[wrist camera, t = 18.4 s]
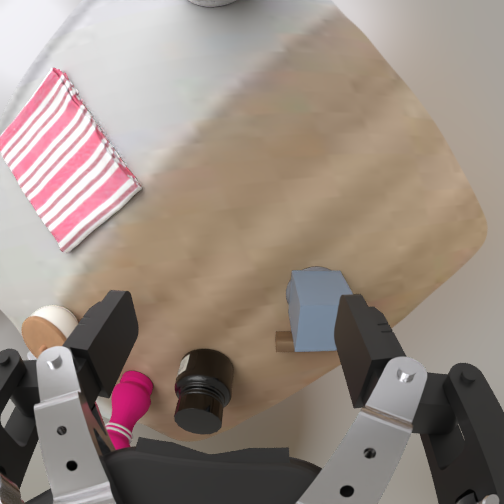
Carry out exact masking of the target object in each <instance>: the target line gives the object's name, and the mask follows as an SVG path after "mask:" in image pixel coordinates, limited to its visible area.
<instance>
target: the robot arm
mask: <svg viewBox="0 0 504 504" xmlns="http://www.w3.org/2000/svg"><path fill="white" fill-rule="evenodd" d="M188 1H190V2H192V3H194V4H196V5H199V6H205V7H216V6H223V5H226V4H229V3H232V2H234V1H236V0H188ZM137 336H138V322H137V318H136V314H135V309H134V305H133V301H132V297H131V294H130V292H129V291H116V290H111V291H109V292H108V294H107V295H106V296H105V298H104V299H103V300H102V302H98V303H97V304H95V305H94V306H92V307H91V308H89V310H88V311H87V312H86V314H85V315H84V316H83V318H82V319H81V320H80V322H79V325H77V326H76V327H75V329H74V330H73V331H72V333H71V334H70V335H69V337H68V338H67V340H66V341H65V342H64V344H63V345H62V346H55V347H51V348H48V349H46V350H45V351H43V352H42V353H41V354H40V355H39V357H38V359H37V360H28V361H23V360H22V359H21V356H20V355H19V353H18V351H16V350H14V349H6V350H3V351H1V352H0V416H1V413H2V411H3V409H4V408H5V406H6V404H7V402H8V400H9V399H11V400H12V402H13V403H14V404H15V406H16V407H15V408H14V410H13V412H12V414H11V416H10V418H9V420H8V422H7V424H6V426H5V428H3V427H2V425H1V421H0V504H378V502H379V500H380V499H381V497H382V495H383V493H384V491H385V489H386V487H387V485H388V483H389V481H390V479H391V477H392V475H393V473H394V471H395V469H396V467H397V465H398V463H399V461H400V459H401V456H402V454H403V452H404V449H405V447H406V445H407V442H408V440H409V437H410V435H411V433H420V436H421V440H422V443H423V446H424V449H425V453H426V456H427V459H428V463H429V467H430V470H431V474H432V478H433V482H434V486H435V490H436V494H437V498H438V503H439V504H504V412H503V410H502V408H501V406H500V404H499V402H498V400H497V398H496V397H495V395H494V393H493V391H492V389H491V388H490V386H489V384H488V382H487V381H486V379H485V377H484V375H483V374H482V372H481V371H480V370H479V369H478V368H476V367H475V366H473V365H471V364H468V363H458V364H456V365H454V366H453V367H452V368H451V370H450V372H449V373H448V375H447V374H436V373H428V372H426V369H425V367H424V366H423V365H422V364H421V363H420V362H418V361H417V360H415V359H413V358H409V357H406V355H405V353H404V351H403V349H402V347H401V345H400V343H399V342H398V340H397V338H396V336H395V334H394V333H393V332H392V329H391V327H390V325H388V322H387V320H386V318H385V316H384V315H383V314H382V313H381V312H380V311H379V310H377V309H376V308H375V307H368V305H367V304H366V302H365V300H364V298H363V296H362V295H361V294H348V295H341V297H340V300H339V306H338V311H337V317H336V322H335V328H334V341H335V345H336V348H337V352H338V355H339V358H340V362H341V365H342V369H343V372H344V375H345V379H346V382H347V386H348V389H349V393H350V396H351V400H352V404H353V407H354V408H361V407H362V409H361V411H360V412H359V414H358V416H357V417H356V419H355V421H354V422H353V424H352V425H351V427H350V429H349V430H348V432H347V433H346V435H345V437H344V438H343V440H342V441H341V443H340V444H339V446H338V447H337V449H336V450H335V452H334V453H333V455H332V456H331V458H330V459H329V460H328V462H327V463H326V465H325V466H324V467H323V469H322V468H320V467H318V466H316V465H314V464H312V463H310V462H307V461H304V460H300V459H297V458H292V457H289V448H248V449H243V450H238V451H231V452H225V453H219V454H206V453H203V452H199V451H196V450H193V449H190V448H187V447H184V446H181V445H178V444H176V443H173V442H166V441H159V440H153V439H146V438H141V437H139V439H138V442H137V445H136V447H126V448H122V449H117V450H116V449H115V447H114V445H113V443H112V441H111V439H110V437H109V434H108V432H107V429H106V427H105V424H104V422H103V419H102V417H101V414H100V411H99V408H98V406H97V404H96V402H95V401H96V399H97V397H98V396H101V397H106V398H110V396H111V393H112V391H113V389H114V386H115V384H116V382H117V380H118V378H119V375H120V373H121V371H122V369H123V367H124V365H125V362H126V360H127V358H128V356H129V354H130V352H131V350H132V348H133V345H134V343H135V341H136V339H137ZM458 424H459V425H458ZM459 426H460V428H459ZM460 429H461V430H460ZM461 431H462V433H461ZM462 434H463V436H464V438H463V436H462ZM38 440H39V443H40V448H41V452H42V457H43V461H44V465H45V469H46V473H47V477H48V480H49V484H50V487H51V488H50V489H49V490H47V491H45V492H43V493H42V494H40V495H38V496H36V497H34V498H33V499H31V500H29V501H27V502H25V503H24V501H23V500H22V499H21V494H20V491H19V489H20V487H21V484H22V481H23V478H24V475H25V472H26V470H27V467H28V464H29V462H30V459H31V457H32V454H33V452H34V449H35V447H36V444H37V442H38ZM464 440H465V441H464Z"/></svg>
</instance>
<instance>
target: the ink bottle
mask: <svg viewBox="0 0 504 504" xmlns="http://www.w3.org/2000/svg"><path fill="white" fill-rule="evenodd" d="M232 383H233V366H232V363H231V362H230V360H229V359H228V358H227V357H226V356H225V355H224V354H222V353H220V352H218V351H215V350H210V349H197V350H193V351H191V352H189V353H187V354H186V355H185V356H184V357H183V359H182V361H181V364H180V368H179V371H178V375H177V378H176V383H175V393H176V395H177V397H178V399H179V400H178V403H177V407H176V411H175V415H174V417H175V422H176V423H177V424H178V426H179V427H181V428H183V429H184V430H186V431H189V432H192V433H196V434H212V433H214V432H217V431H218V430H219V429H220V428H221V426H222V416H223V408H224V407H225V406H227V405H228V403H229V402H230V400H231V395H232Z"/></svg>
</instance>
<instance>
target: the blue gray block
mask: <svg viewBox="0 0 504 504" xmlns="http://www.w3.org/2000/svg"><path fill="white" fill-rule="evenodd" d="M348 294H353V293H352V291H351V290H350V288H349V286H348V284H347V282H346V281H345V279H344V277H343V275H342V273H341V272H340V271H301V270H292V275H291V291H290V302H289V311H288V313H289V319H290V325H291V331H292V337H293V343H294V349H295V352H308V351H333V350H337V348H336V345H335V341H334V328H335V322H336V317H337V311H338V306H339V300H340V297H341V295H348Z"/></svg>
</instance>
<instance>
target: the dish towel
mask: <svg viewBox="0 0 504 504" xmlns="http://www.w3.org/2000/svg"><path fill="white" fill-rule="evenodd" d="M78 94H79V92H78V90H77V89H75V88H74V86H73V83H72V82H70V81H69V80H68V77H67V75H66V73H62V71H60V70H59V69H56V68H51V70H50V72H49V73H48V74H47V76H46V77H45V79H44V80H43V82H42V83H41V85H40V86H39V88H38V89H37V91H36V92H35V93H34V95H33V96H32V97H31V99H30V100H29V101H28V102H27V104H26V105H25V106H24V108H23V109H22V110H21V112H20V113H19V114H18V116H17V117H16V118H15V119H14V121H13V122H12V123H11V124H10V125H9V126H8V127H7V128H6V130H5V131H4V132H3V133H2V135H1V136H0V151H1V155H2V157H3V158H4V160H5V162H6V164H7V165H8V166H9V169H10V170H11V171H12V173H13V174H14V176H15V178H16V179H17V182H18V184H19V186H20V187H21V190H22V191H23V193H24V194H25V195H26V197H27V198H28V200H29V201H30V202H31V204H32V205H33V207H34V208H35V210H36V212H37V214H38V216H39V217H40V218H41V220H42V221H43V223H44V224H45V225H46V227H47V228H48V229H49V231H50V232H51V233H52V234H53V236H54V237H55V239H56V240H57V242H58V244H59V248H60V250H61V251H62V252H65V253H69V252H70V251H71V250H72V249H73V248H75V247H76V246H77V245H78V244H79V243H80V242H81V241H82V240H83V239H84V238H86V237H87V236H88V235H89V234H90V233H91V232H92V231H93V230H95V229H96V228H97V227H98V226H100V225H101V224H102V223H104V222H105V221H106V220H107V219H109V218H110V217H111V216H112V215H113V214H115V213H116V212H117V211H119V210H120V209H121V208H122V207H123V206H124V205H125V204H126V203H127V202H128V201H129V200H130V199H131V198H132V197H133V196H134V195H135V194H136V193H137V192H138V191H139V190H142V187H141V186H140V184H139V182H138V181H137V179H136V177H135V176H134V175H133V174H132V173H131V172H130V170H129V169H128V168H127V167H126V165H125V163H124V162H123V160H122V159H121V158H120V156H119V155H118V153H117V152H116V151H115V150H114V148H113V146H112V145H111V144H110V143H109V142H108V140H107V139H106V138H105V136H104V135H103V134H102V132H101V130H100V128H99V127H98V126H97V124H96V122H95V120H94V119H93V117H92V116H91V115H90V113H89V112H88V110H87V109H86V108H85V106H84V105H83V104H82V101H83V99H80V98H79V96H77V95H78Z"/></svg>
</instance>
